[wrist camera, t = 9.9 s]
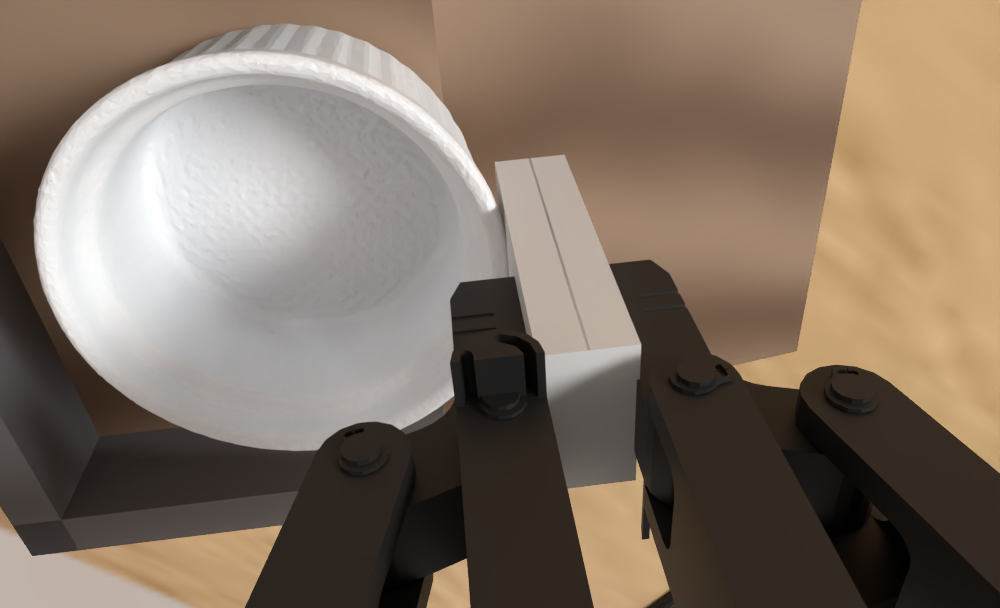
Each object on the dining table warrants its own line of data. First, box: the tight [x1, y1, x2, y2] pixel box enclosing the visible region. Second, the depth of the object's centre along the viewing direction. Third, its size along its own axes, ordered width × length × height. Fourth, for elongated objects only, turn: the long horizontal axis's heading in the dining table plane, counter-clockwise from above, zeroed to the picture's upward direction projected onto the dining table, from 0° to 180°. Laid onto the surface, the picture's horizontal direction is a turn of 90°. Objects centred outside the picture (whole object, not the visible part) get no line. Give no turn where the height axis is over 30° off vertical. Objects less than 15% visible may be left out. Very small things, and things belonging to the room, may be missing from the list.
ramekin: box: [33, 23, 509, 451], centre depth 17 cm, size 9×9×4 cm
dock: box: [0, 0, 862, 556], centre depth 19 cm, size 16×22×6 cm
